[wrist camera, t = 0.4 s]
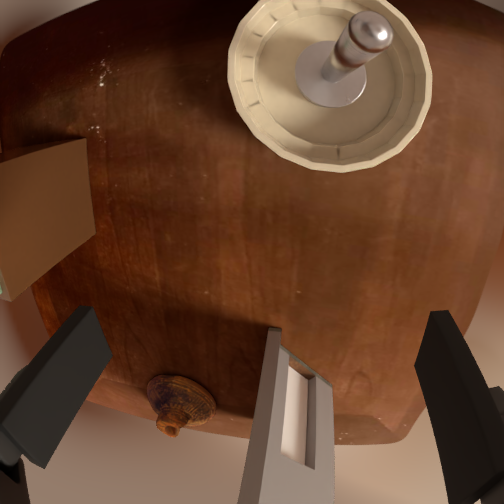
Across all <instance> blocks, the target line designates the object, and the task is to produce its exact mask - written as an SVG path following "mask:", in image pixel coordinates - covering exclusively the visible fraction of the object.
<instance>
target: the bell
mask: <svg viewBox="0 0 504 504" xmlns="http://www.w3.org/2000/svg"><path fill="white" fill-rule="evenodd" d="M147 395H148V399H149V402H150V404H151V406H152V408H153V410H154V411H155V412H156V413H157V414H158V415H159V416H158V418H157V421H156V426H157V428H158V429H159V430H160V431H162V432H163V433H165V434H167V435H168V436H170V437H176V436H178V434H179V431H180V428H182V427H184V426H199V425H202V424H204V423H206V422H208V421H209V420H211V419H212V418H213V416H214V415H215V412H216V402H215V400H214V398H213V397H212V396H211V394H210V393H209V392H208V391H207V390H206V389H204V388H203V387H202V386H201V385H199V384H197V383H196V382H194V381H192V380H190V379H188V378H185V377H182V376H171V375H159V376H156V377H154V378H153V379H152V380H150V382H149V383H148V386H147Z"/></svg>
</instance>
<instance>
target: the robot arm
mask: <svg viewBox="0 0 504 504" xmlns="http://www.w3.org/2000/svg"><path fill="white" fill-rule="evenodd" d="M112 356H113V355H112V352H111V350H110V348H109V346H108V343H107V341H106V338H105V336H104V334H103V331H102V329H101V326H100V324H99V321H98V319H97V316H96V313H95V311H94V308H93V307H91V306H81V305H80V306H79V307H78V308H77V309H76V310H75V311H74V312H73V313H72V314H71V315H70V317H69V318H68V319H67V320H66V321H65V322H64V323H63V324H62V326H61V327H60V328H59V329H58V330H57V331H56V332H55V334H54V335H53V336H52V337H51V338H50V339H49V341H48V342H47V343H46V344H45V345H44V346H43V348H42V349H41V350H40V351H39V352H38V353H37V355H36V356H35V357H34V358H33V360H32V361H31V362H30V363H29V364H28V365H27V366H25V367H24V368H23V369H21V370H20V371H19V372H18V373H17V374H16V375H15V376H14V378H13V379H12V380H11V383H9V384H8V385H7V386H6V388H5V390H3V391H2V393H1V394H0V504H30V499H29V494H28V488H27V483H26V476H25V469H24V463H23V460H22V459H21V458H20V457H21V455H22V454H24V456H26V457H27V458H28V459H29V461H31V462H32V463H34V464H36V465H37V466H39V467H41V468H43V469H45V468H46V466H47V464H48V462H49V460H50V458H51V457H52V455H53V453H54V451H55V450H56V448H57V446H58V444H59V443H60V441H61V439H62V437H63V436H64V434H65V432H66V431H67V429H68V427H69V425H70V424H71V422H72V420H73V419H74V417H75V415H76V413H77V412H78V410H79V409H80V407H81V405H82V404H83V402H84V400H85V399H86V397H87V396H88V394H89V392H90V391H91V389H92V388H93V386H94V384H95V383H96V381H97V380H98V378H99V376H100V375H101V373H102V372H103V370H104V368H105V367H106V365H107V364H108V362H109V361H110V359H111V358H112ZM414 367H415V370H416V373H417V376H418V379H419V382H420V386H421V389H422V392H423V396H424V399H425V402H426V406H427V409H428V413H429V417H430V420H431V424H432V428H433V432H434V436H435V439H436V444H437V448H438V452H439V457H440V461H441V466H442V471H443V475H444V480H445V486H446V491H447V496H448V503H449V504H474V503H475V502H476V501H478V500H479V499H480V500H481V504H504V391H503V390H502V389H501V388H500V387H499V386H497V387H493V388H488V386H487V384H486V381H485V379H484V377H483V375H482V373H481V371H480V369H479V367H478V365H477V363H476V361H475V359H474V357H473V355H472V353H471V351H470V349H469V347H468V345H467V343H466V341H465V340H464V338H463V336H462V334H461V332H460V330H459V328H458V327H457V325H456V323H455V321H454V319H453V318H452V316H451V314H450V312H449V311H448V310H443V311H430V315H429V319H428V322H427V326H426V329H425V333H424V336H423V340H422V343H421V346H420V349H419V352H418V356H417V359H416V362H415V365H414Z"/></svg>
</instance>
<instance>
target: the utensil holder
mask: <svg viewBox="0 0 504 504" xmlns="http://www.w3.org/2000/svg"><path fill="white" fill-rule="evenodd" d="M95 234H96V229H95V222H94V215H93V208H92V200H91V191H90V182H89V171H88V159H87V144H86V138H80V139H71V140H63V141H55V142H48V143H41V144H35V145H29V146H23V147H19V148H16V149H13V150H9V151H6V152H3V153H0V298H1V299H4V300H7V301H10V302H12V301H13V300H14V299H16V298H17V297H18V296H19V295H20V294H21V293H22V292H24V291H25V290H26V289H27V288H28V287H29V286H30V285H32V284H33V283H34V282H35V281H36V280H38V279H39V278H40V277H41V276H42V275H44V274H45V273H46V272H47V271H48V270H50V269H51V268H52V267H53V266H55V265H56V264H57V263H58V262H60V261H61V260H62V259H63V258H65V257H66V256H67V255H69V254H70V253H71V252H72V251H74V250H75V249H76V248H78V247H79V246H80V245H81V244H83V243H84V242H85V241H87V240H88V239H89V238H91V237H92V236H93V235H95Z"/></svg>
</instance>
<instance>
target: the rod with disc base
mask: <svg viewBox="0 0 504 504" xmlns="http://www.w3.org/2000/svg"><path fill="white" fill-rule="evenodd" d="M393 39H394V32H393V28H392V26H391V24H390V22H389V21H388V20H387V19H386V18H385V17H384V16H383V15H381V14H379V13H377V12H374V11H361V12H358V13H356V14H355V15H353V16H352V17H351V18H350V20H349V21H348V23H347V25H346V27H345V28H344V30H343V32H342V33H341V35H340V37H339V39H338V40H337V42H336V41H320V42H316V43H313V44H311V45H309V46H308V47H307V48H305V49H304V50H303V51H302V52H301V54H300V55H299V57H298V59H297V61H296V65H295V80H296V84H297V87H298V89H299V91H300V92H301V94H302V95H303V96H304V97H305V98H306V99H307V100H308V101H310V102H311V103H313V104H315V105H317V106H320V107H325V108H338V107H343V106H346V105H349V104H351V103H352V102H354V101H355V100H356V99H357V98H358V97H359V96H360V95H361V94H362V92H363V90H364V88H365V85H366V69H365V66H364V64H365V63H367V62H368V61H370V60H371V59H373V58H374V57H376V56H378V55H379V54H381V53H382V52H384V51H385V50H387V49H388V48H389V47H390V46H391V44H392V42H393Z"/></svg>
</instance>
